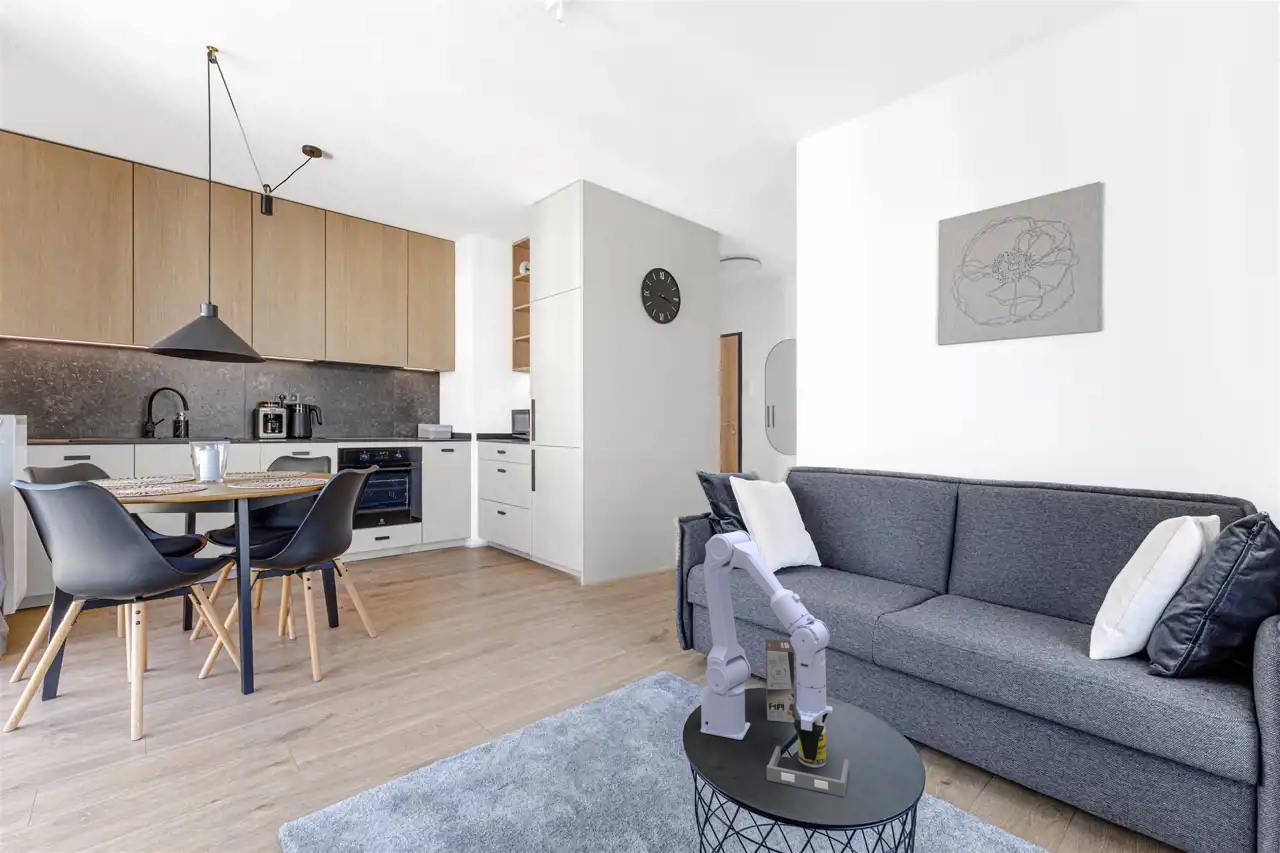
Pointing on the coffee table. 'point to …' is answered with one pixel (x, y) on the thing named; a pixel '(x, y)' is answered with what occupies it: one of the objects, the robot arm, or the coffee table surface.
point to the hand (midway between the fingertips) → (812, 751)
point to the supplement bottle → (821, 750)
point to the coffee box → (780, 680)
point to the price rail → (807, 777)
